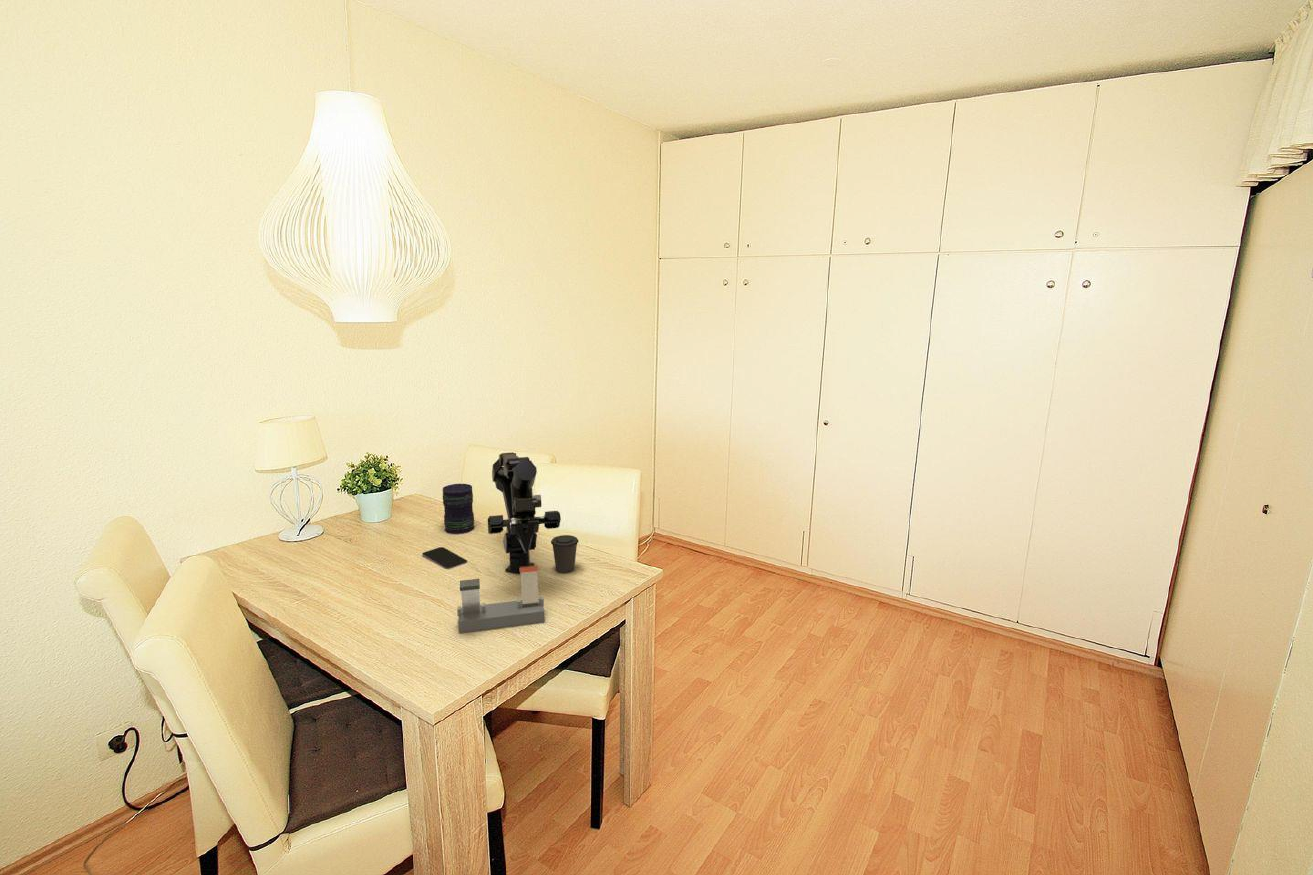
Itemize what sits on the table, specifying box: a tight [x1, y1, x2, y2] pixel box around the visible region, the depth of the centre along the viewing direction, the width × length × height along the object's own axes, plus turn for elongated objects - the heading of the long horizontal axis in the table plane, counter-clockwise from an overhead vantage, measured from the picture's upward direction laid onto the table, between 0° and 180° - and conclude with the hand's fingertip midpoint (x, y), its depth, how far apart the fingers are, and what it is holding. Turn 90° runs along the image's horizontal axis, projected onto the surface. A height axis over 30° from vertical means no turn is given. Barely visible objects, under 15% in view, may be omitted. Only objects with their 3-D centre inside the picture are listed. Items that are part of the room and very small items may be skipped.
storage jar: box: [442, 483, 475, 535], centre depth 200 cm, size 10×10×15 cm
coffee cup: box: [550, 534, 579, 574], centre depth 171 cm, size 8×8×10 cm
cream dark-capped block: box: [459, 578, 481, 614], centre depth 139 cm, size 2×4×9 cm, turn 107°
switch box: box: [456, 595, 545, 634], centre depth 143 cm, size 7×20×5 cm, turn 107°
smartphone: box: [421, 546, 468, 570], centre depth 178 cm, size 7×1×15 cm
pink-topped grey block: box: [519, 564, 540, 604], centre depth 145 cm, size 2×4×9 cm, turn 107°
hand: (526, 552), depth 151 cm, fingers closed
